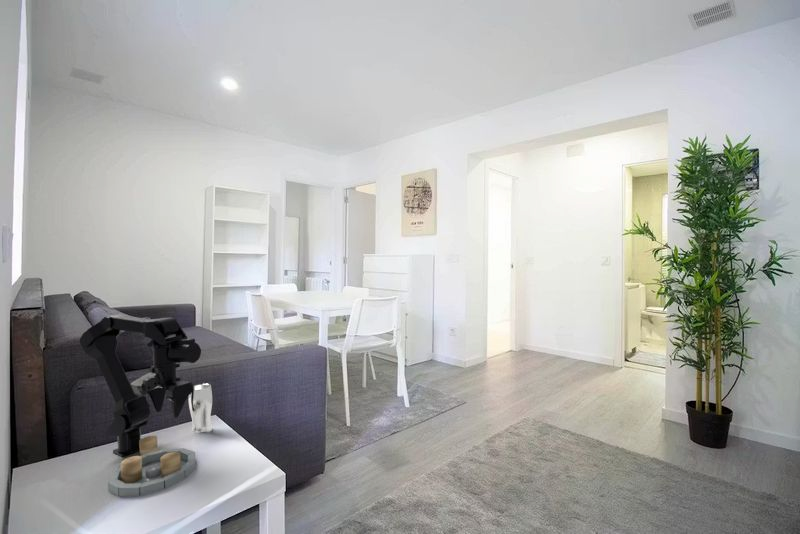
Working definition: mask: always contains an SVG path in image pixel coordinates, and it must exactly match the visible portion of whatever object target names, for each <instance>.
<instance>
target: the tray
mask: <svg viewBox="0 0 800 534" xmlns="http://www.w3.org/2000/svg"><path fill="white" fill-rule="evenodd" d="M171 452H179V453H180V461H181V468H180V469H179V470H178V471H176V472H174V473H172V474H169V475H167V476H165V477H163V478H161V457H162V456H163V455H165V454H167V453H171ZM141 457H142V479H140V480H139V481H137V482H135V483H130V484H125V483H124V482H122V481H121V465H120V466H118V467H117V468H115V469H114V470H113V471H111V473H110V476H109V478H108V481H107V487H108V488H107V489H108V492H109V493H111V494H113V495H115V496H116V497H139V496H145V495H148V494H152V493H155V492H160V491H162V490H163V491H164V490H166V489H168V488H170V487H173V485H176V484H178V483H179V482H181V481H183V480H185V479H186V478H188V476H189V475H191V474H192V473H193V471H194V470H195V469H196V468H197V461H196V459H197V458H196V452H195V451H193V450H191V449H189V448H184V447H177V448H176V447H175V448H164V449H159V450H158V451H155V452H150V453H146V454H144V455H141Z"/></svg>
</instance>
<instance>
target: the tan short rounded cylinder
mask: <svg viewBox="0 0 800 534" xmlns="http://www.w3.org/2000/svg"><path fill="white" fill-rule="evenodd" d="M180 468H181V461H180V453H179V452H171V453H167V454H165V455H163V456H162V457H161V478H163V477H165V476H167V475H169V474H172V473H174V472H176V471H178V470H179V469H180Z"/></svg>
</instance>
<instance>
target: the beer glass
mask: <svg viewBox="0 0 800 534" xmlns="http://www.w3.org/2000/svg"><path fill="white" fill-rule="evenodd" d="M188 407H189V412H190V413H189V414H190V416H191V420H192V421H191V422H192V428H191V433H195V434H196V433H204V432H206V433H208V434H209V433H210V432H212V430H213V426H212V422H211V415H212V414H211V413H212V407H213V391H212V385H211V384H210V383H202V384H194V392H191V394H189V396H188Z"/></svg>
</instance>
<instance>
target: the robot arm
mask: <svg viewBox="0 0 800 534" xmlns="http://www.w3.org/2000/svg"><path fill="white" fill-rule="evenodd" d="M122 331H125V332H131V333H139V334H142V335H143V336H144V338H146V339H150V341H149V342H148V343H146V348H147V347H148V348H152V358H153V359H152V361H153V365H151V366H150V368H149V372H148V373H147V374H144V375H142V376H141V377H139V378H137V379H136V380H134V381H132V382H130V381H129V378H128V376H127V374H126V372H125V370H124V368H123V365H122V363H121V361H120V359H119V357H118V355H117V352H116V351H117V347H118V344H119V340H118V339H117V338H118V336H120V335H121V333H122ZM79 344H80V346H81V348H82V349H83V351H84V352H85V354H86V355H87V356H90V357H91V358H93V359H95V360H96V362H97V364H98V366H99V369H100V371H101V373H102V376H103V378H104V380H105V382H106V384H107V386H108V389H109V390H110V393H111V395H112V398H113V400H114V402H115V404H114V409H113V412H112V413H113V418H114V420H113V422H111V423H110V425H109V426H108V427H107V431H108V432H107V433H108V434H109V436H112V437H117V448H115V449H113V450H112V453H114V454H116V455H118V456H120V457H122V458H123V457H127V456H128V455H131V454H134V453H136V452H140V446H139V440H140V439H142V438H141V437H142V436H141V427H144V426H147V425H148V421H149V418H150V414H151V409H150V408H151V405H150V404H149V403H148V400H147V397H146V396H145V395H146V394H147V395H148V396H149V397H150V399H151V402H152V404H153V406H154V409H155V411H156V413H160V412H162V408H163V406H164V405H163V404H164V400H165V399H167V400H169V401H170V403H171V410H172V414H173V418H174V419H176V418H178V417H179V416H180V414H181V412H182V409H183V407H184V405H185V403H186V401H187V399H189V394H191V392H194V386H195V384H194V383H193V382H191V381H187V380H182V381H181V377H180V376H178V370H177V369H178V368H180V366H181V365H180V363H182V364H183V363H184V364H194V363H196V362H198V360H199V359H200V357H201V354H202V349H201V346H200V345H199V344H198V343H197V342H196V339H195V338H188V336H187V334H186V332H184V330H183V328H182V327H181V325H180V324H179V323H178V320H177V318H174V317H161V318H153V319H151V318H143V317H137V316H131V315H125V314H121V313H119V314H112V315H111V314H110V315H105V316H104V317H103V318H102V319H101V320H100V321H99V322H97V323H95V324H94V325H92V326H91V327H89V328H88V329H87V330H86V331H85V332H83V333H82V335H81V336H80V339H79ZM139 395H140V396H139Z"/></svg>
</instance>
